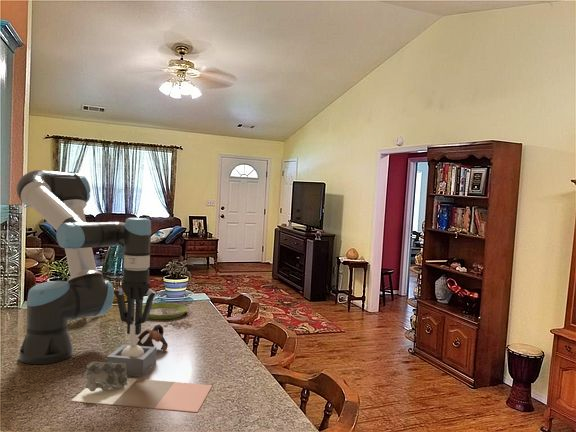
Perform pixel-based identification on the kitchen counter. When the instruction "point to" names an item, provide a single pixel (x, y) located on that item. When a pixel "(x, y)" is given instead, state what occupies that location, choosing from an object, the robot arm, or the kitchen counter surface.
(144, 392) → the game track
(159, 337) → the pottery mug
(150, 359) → the housing
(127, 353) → the cream ball
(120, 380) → the egg carton
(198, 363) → the kitchen counter surface
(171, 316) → the saucer
